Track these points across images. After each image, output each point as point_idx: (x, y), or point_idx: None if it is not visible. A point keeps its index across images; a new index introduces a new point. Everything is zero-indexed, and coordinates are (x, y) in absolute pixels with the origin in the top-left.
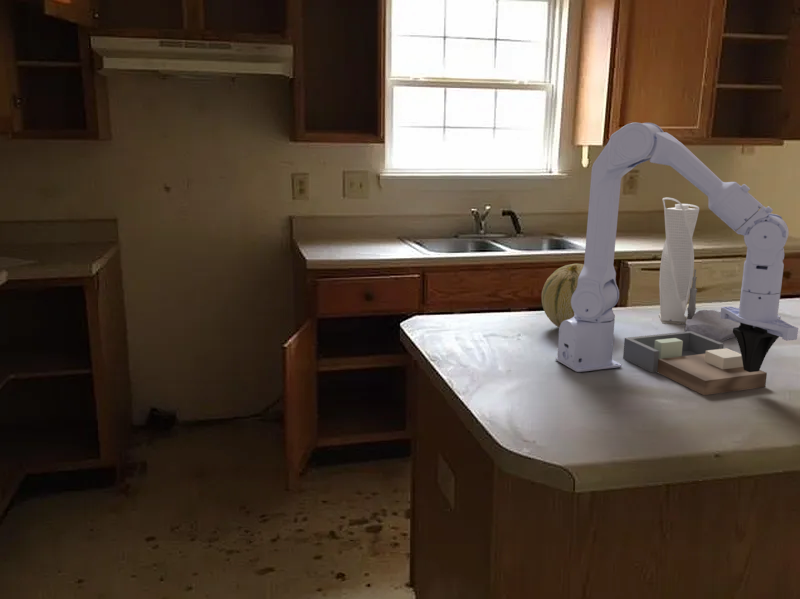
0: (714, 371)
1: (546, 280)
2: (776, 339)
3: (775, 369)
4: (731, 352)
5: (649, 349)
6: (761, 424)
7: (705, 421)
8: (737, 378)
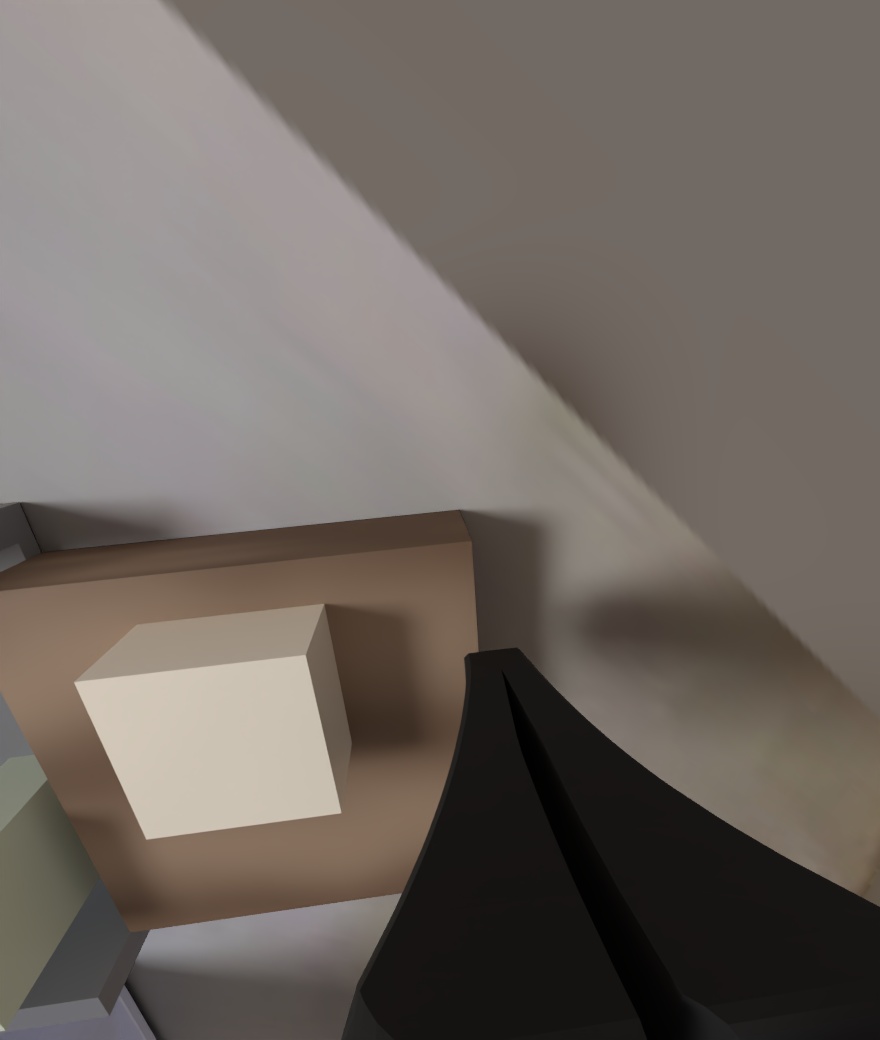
0: (376, 793)
1: None
2: (812, 879)
3: (129, 163)
4: (206, 707)
5: (61, 1020)
6: (777, 767)
7: None
8: None
